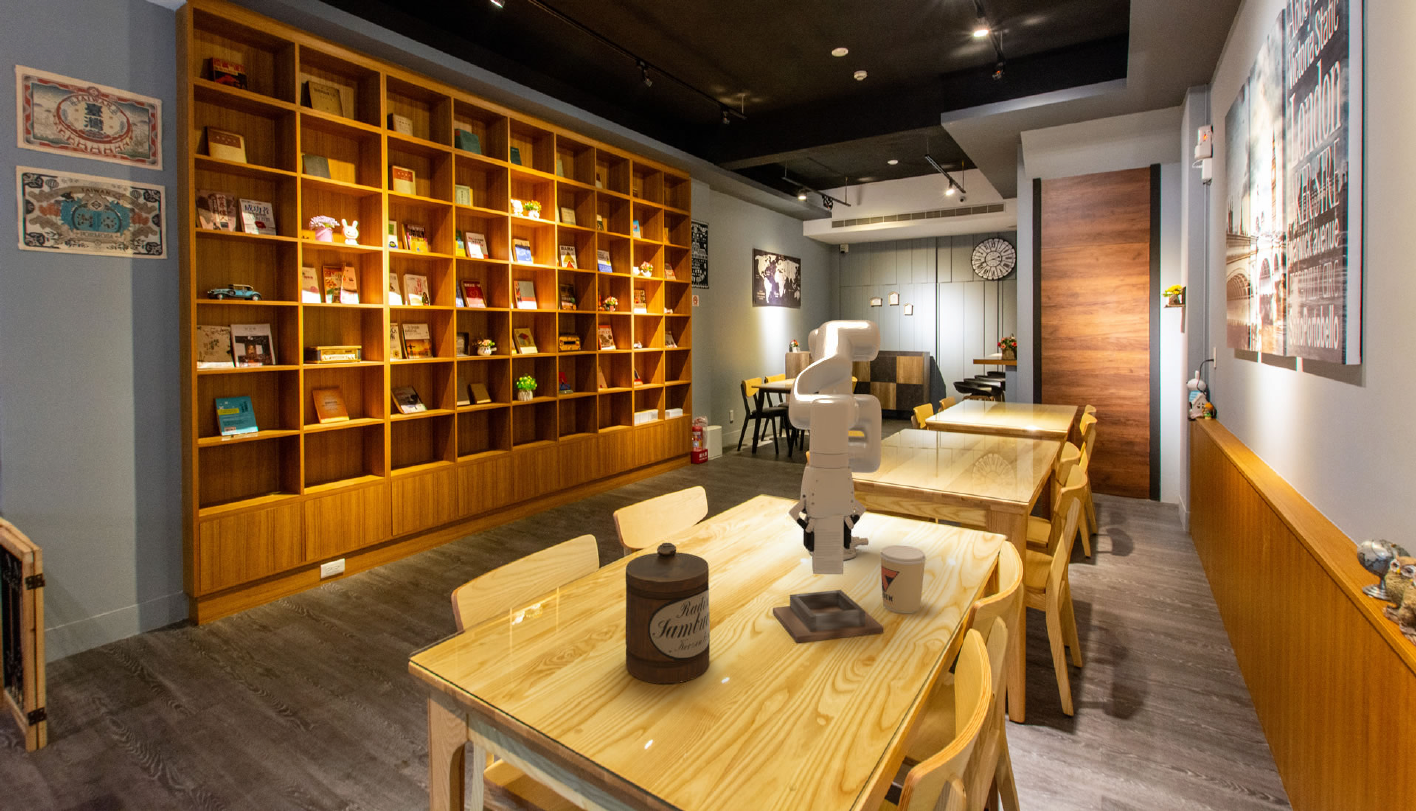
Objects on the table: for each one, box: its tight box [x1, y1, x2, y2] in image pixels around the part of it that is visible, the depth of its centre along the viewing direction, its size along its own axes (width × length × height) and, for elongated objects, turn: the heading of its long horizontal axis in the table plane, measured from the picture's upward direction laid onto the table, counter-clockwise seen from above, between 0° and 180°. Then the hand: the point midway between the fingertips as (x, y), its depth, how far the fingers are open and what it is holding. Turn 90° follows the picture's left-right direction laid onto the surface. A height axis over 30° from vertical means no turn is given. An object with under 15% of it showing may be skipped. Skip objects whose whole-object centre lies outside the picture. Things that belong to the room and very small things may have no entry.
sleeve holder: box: [772, 589, 885, 644], centre depth 136 cm, size 18×14×4 cm
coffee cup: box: [879, 545, 927, 614], centre depth 144 cm, size 9×9×12 cm
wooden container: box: [625, 542, 711, 684], centre depth 119 cm, size 15×15×22 cm
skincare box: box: [811, 515, 844, 576], centre depth 134 cm, size 6×4×12 cm
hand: (827, 547), depth 135 cm, fingers closed on skincare box, 6 cm apart
